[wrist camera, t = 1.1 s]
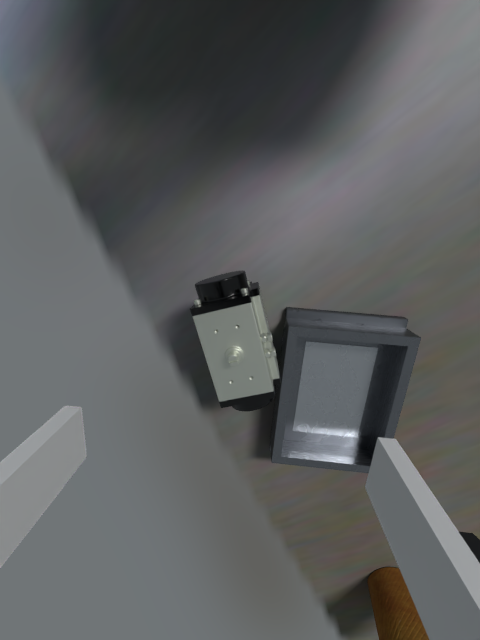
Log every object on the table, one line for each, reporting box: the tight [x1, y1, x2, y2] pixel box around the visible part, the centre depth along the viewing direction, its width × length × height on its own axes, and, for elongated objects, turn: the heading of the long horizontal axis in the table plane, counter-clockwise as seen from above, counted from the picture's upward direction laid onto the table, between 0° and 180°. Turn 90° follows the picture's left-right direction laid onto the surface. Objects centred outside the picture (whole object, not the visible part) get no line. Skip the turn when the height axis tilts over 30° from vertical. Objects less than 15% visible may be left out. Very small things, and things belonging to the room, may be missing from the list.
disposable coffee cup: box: [368, 567, 429, 640], centre depth 37 cm, size 10×10×12 cm
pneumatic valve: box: [190, 271, 281, 411], centre depth 27 cm, size 6×12×12 cm, turn 14°
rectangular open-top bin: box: [270, 307, 421, 473], centre depth 33 cm, size 19×13×4 cm
